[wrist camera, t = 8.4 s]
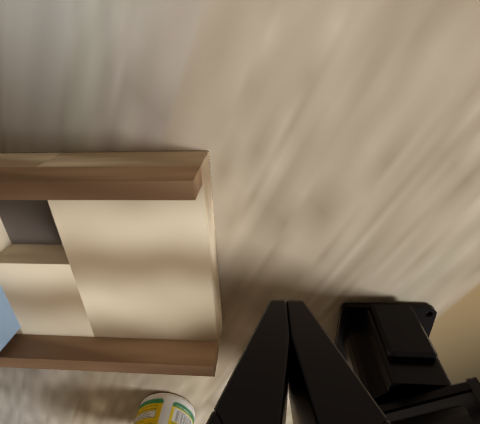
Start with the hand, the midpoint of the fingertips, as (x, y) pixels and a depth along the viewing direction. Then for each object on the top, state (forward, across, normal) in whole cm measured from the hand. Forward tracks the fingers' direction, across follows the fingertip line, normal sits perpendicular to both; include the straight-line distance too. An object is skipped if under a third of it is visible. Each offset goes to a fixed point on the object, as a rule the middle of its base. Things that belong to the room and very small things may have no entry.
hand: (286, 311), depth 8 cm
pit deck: (+12, +14, +6) cm, 19 cm away
